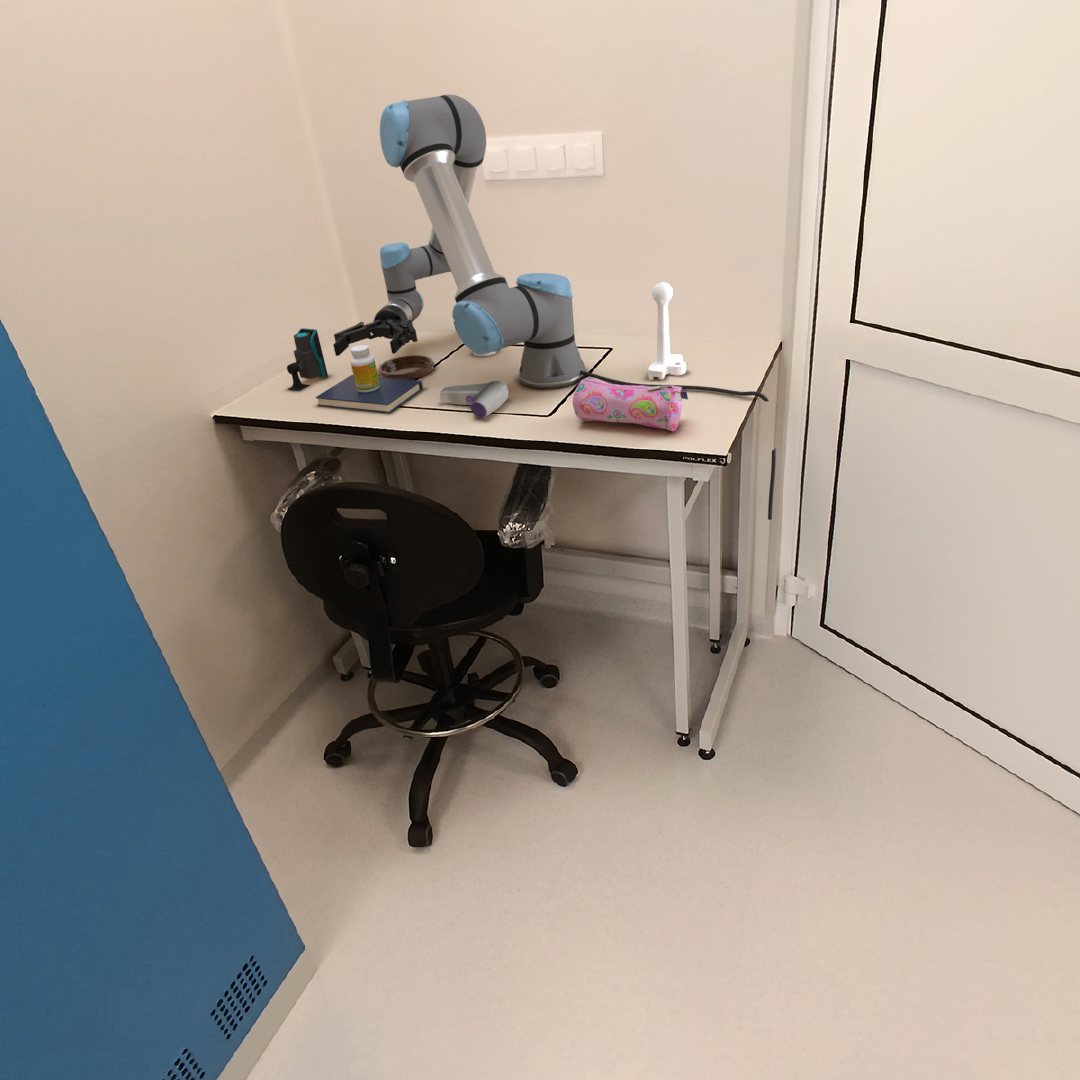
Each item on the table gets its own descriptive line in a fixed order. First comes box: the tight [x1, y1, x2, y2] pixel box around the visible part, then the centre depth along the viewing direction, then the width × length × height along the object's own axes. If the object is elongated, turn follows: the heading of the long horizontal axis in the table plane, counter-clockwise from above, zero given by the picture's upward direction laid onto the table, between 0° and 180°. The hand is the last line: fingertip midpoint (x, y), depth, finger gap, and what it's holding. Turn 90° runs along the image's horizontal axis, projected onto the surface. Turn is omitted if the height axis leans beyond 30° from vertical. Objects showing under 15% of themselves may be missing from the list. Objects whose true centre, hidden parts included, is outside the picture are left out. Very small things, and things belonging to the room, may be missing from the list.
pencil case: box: [572, 377, 689, 432], centre depth 158 cm, size 21×9×9 cm, turn 64°
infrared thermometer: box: [439, 380, 509, 419], centre depth 174 cm, size 5×12×15 cm
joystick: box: [647, 281, 687, 381], centre depth 176 cm, size 11×8×20 cm
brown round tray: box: [377, 354, 435, 380], centre depth 198 cm, size 13×13×2 cm
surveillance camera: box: [286, 327, 329, 392], centre depth 195 cm, size 6×12×10 cm
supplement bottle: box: [349, 344, 380, 393], centre depth 182 cm, size 5×5×10 cm
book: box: [315, 374, 424, 414], centre depth 185 cm, size 20×14×2 cm
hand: (364, 349), depth 182 cm, fingers open, 13 cm apart
